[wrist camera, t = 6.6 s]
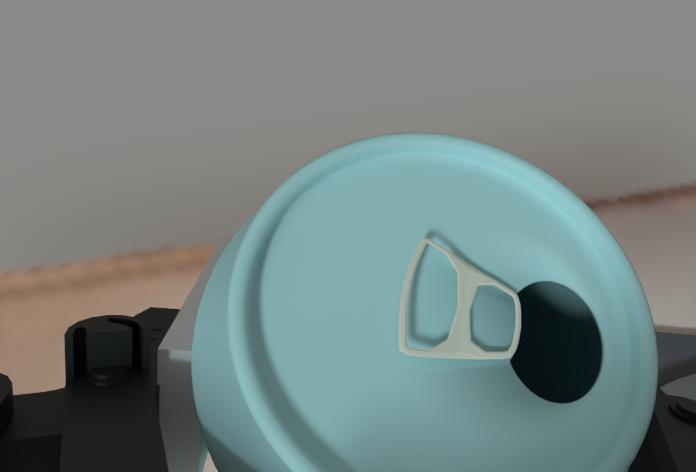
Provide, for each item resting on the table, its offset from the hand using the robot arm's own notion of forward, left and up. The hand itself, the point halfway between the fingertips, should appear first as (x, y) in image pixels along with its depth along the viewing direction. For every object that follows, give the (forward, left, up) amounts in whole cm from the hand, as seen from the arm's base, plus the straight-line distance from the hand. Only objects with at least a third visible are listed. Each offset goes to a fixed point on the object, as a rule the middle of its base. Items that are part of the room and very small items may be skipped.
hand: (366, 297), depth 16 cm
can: (0, +3, -4) cm, 5 cm away
